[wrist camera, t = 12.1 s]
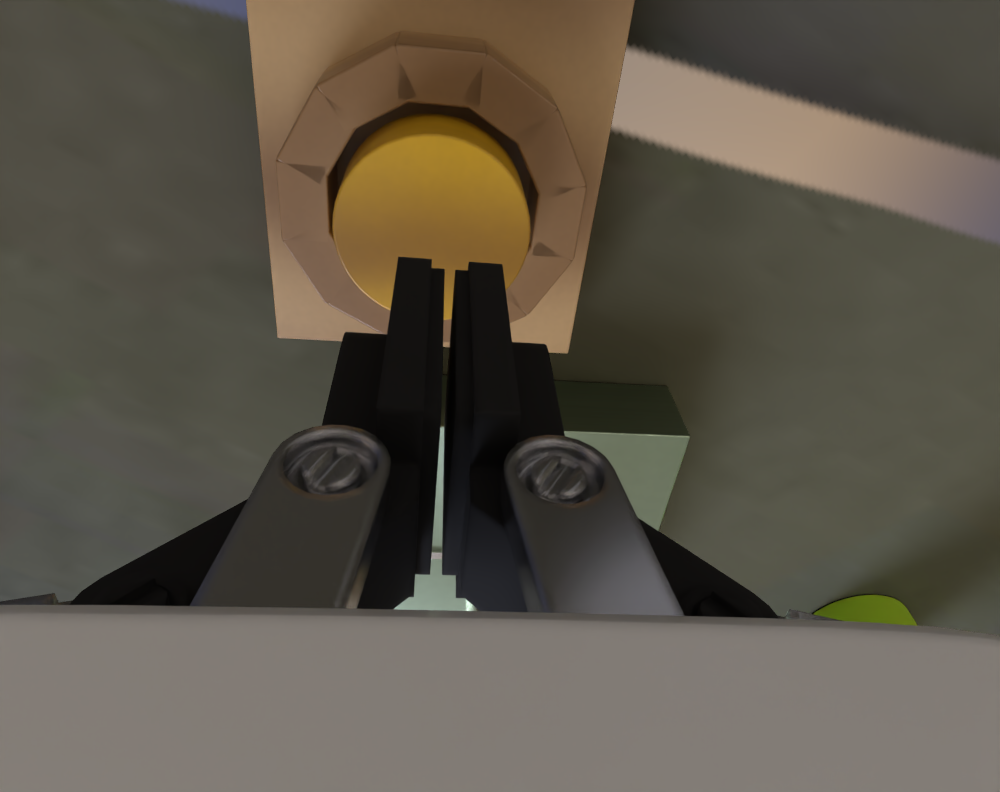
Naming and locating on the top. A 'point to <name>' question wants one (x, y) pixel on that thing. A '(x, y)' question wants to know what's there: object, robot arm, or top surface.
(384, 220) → the round yellow button
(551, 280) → the button housing
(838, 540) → the top surface
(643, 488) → the dial panel
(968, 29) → the top surface
